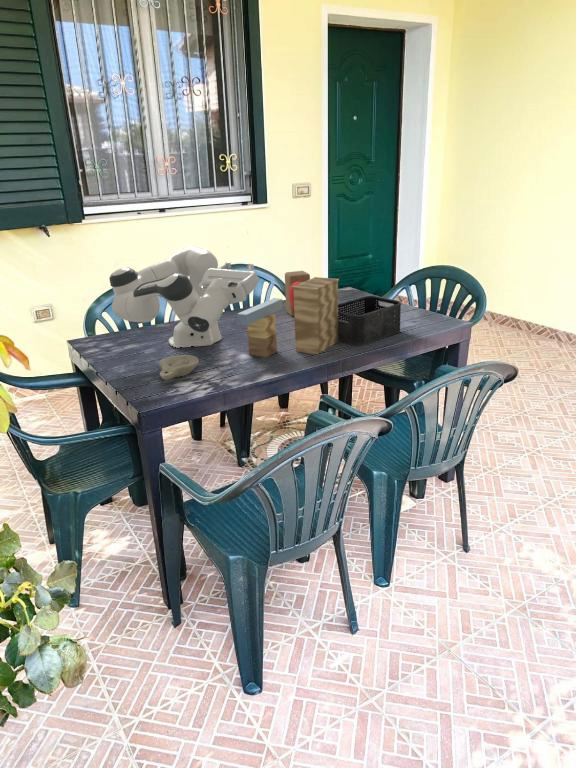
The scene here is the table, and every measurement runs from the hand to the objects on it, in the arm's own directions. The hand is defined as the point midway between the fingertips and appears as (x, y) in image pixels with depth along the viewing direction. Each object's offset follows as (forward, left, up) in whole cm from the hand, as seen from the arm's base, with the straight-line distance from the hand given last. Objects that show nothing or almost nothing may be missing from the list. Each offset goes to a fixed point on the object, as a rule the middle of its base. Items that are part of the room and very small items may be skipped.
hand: (240, 264), depth 197 cm
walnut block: (+11, +15, -38) cm, 43 cm away
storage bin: (+57, +19, -39) cm, 72 cm away
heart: (+41, +46, -39) cm, 73 cm away
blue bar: (+11, +16, -23) cm, 30 cm away
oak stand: (+33, +13, -38) cm, 53 cm away
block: (+44, +64, -39) cm, 87 cm away
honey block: (+11, +15, -31) cm, 36 cm away
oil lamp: (-25, +4, -39) cm, 47 cm away
